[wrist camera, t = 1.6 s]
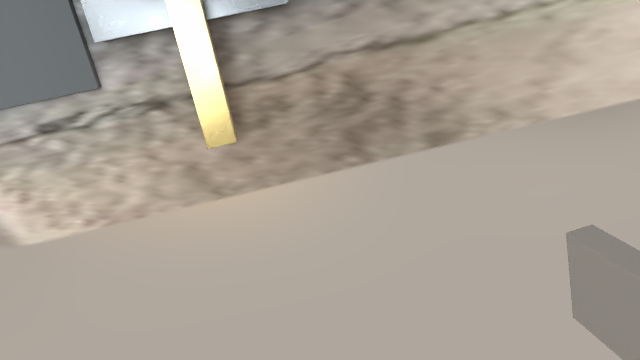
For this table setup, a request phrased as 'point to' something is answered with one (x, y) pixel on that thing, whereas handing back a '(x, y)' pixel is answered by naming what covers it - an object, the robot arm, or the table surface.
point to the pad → (42, 52)
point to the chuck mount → (154, 15)
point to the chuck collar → (202, 71)
